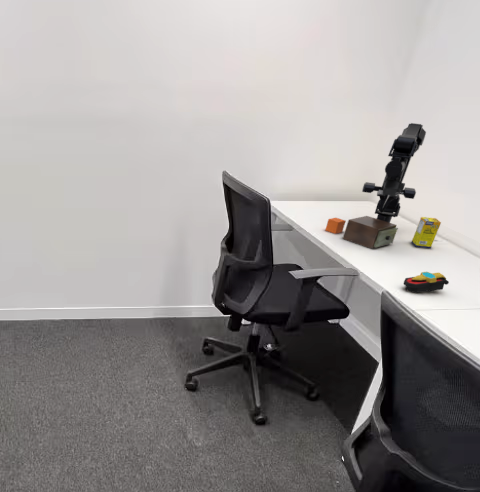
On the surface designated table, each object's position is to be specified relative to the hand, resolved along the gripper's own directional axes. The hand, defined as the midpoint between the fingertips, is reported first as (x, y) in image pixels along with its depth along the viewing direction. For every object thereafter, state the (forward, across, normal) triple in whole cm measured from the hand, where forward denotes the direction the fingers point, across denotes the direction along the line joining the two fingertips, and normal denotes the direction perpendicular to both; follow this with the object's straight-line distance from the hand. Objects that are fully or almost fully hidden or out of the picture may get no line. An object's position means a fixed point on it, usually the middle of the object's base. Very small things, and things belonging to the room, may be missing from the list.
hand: (381, 212), depth 221 cm
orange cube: (+12, -15, +6) cm, 21 cm away
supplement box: (+13, +19, +6) cm, 24 cm away
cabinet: (+12, -2, -1) cm, 12 cm away
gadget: (+12, +16, -47) cm, 51 cm away
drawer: (+11, 0, -2) cm, 12 cm away
